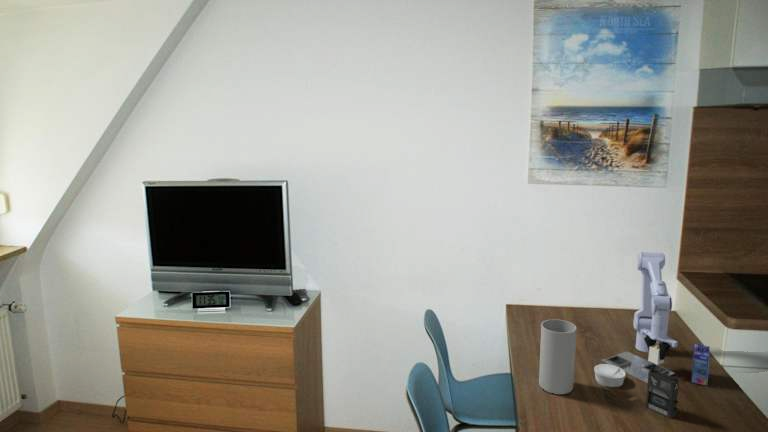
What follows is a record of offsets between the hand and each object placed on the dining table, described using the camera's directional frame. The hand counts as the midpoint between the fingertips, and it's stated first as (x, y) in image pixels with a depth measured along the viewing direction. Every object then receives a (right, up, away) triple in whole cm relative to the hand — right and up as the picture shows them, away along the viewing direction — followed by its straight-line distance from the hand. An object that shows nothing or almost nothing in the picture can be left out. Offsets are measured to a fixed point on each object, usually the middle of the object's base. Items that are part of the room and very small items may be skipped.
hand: (656, 356), depth 205 cm
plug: (0, -2, 0) cm, 2 cm away
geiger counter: (-11, -13, -24) cm, 29 cm away
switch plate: (-5, -6, +5) cm, 10 cm away
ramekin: (-21, -9, -5) cm, 24 cm away
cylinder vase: (-43, -10, -7) cm, 44 cm away
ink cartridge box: (+15, -8, -3) cm, 17 cm away
